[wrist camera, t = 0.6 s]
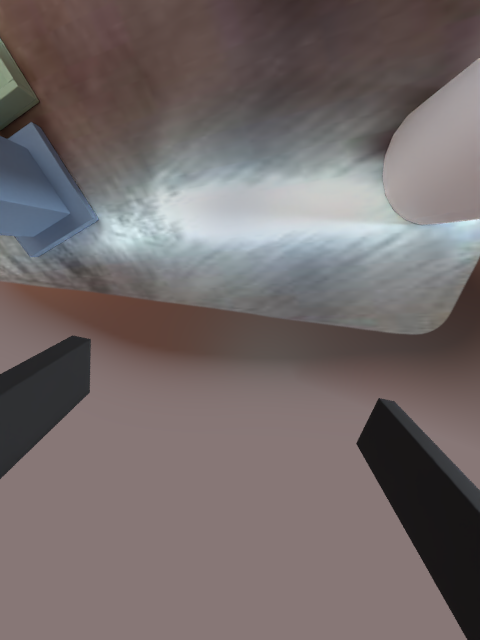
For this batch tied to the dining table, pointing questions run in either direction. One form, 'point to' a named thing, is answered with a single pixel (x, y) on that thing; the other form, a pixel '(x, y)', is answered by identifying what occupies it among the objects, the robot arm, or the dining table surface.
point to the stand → (38, 193)
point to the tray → (13, 90)
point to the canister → (438, 156)
